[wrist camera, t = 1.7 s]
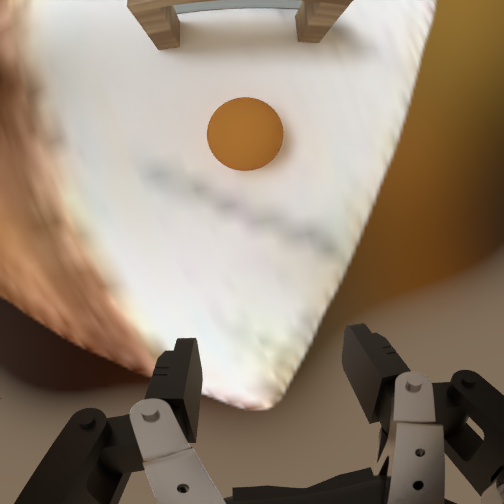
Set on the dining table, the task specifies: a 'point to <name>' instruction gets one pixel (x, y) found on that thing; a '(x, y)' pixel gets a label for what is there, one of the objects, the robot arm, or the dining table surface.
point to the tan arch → (166, 20)
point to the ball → (245, 134)
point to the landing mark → (236, 5)
